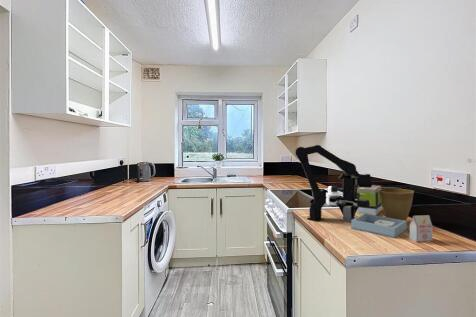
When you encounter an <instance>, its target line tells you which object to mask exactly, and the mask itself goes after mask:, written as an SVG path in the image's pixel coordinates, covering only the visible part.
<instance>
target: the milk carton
mask: <svg viewBox="0 0 476 317" xmlns="http://www.w3.org/2000/svg"><path fill="white" fill-rule="evenodd" d="M433 228H434V227H433V223H432V221H431V217H430V215H429V214H427V215H412V219H411V221H410V223H409V240H411V241H413V242H415V243H425V242H426V241H430V242H433ZM426 243H427V242H426Z"/></svg>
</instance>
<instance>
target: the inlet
mask: <svg viewBox="0 0 476 317" xmlns="http://www.w3.org/2000/svg"><path fill="white" fill-rule="evenodd" d="M374 224H377V225H382V226H388V227H394V226H396V222H390V221H385V220H378V221H376V222H374Z"/></svg>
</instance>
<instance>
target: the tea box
mask: <svg viewBox="0 0 476 317" xmlns="http://www.w3.org/2000/svg"><path fill="white" fill-rule="evenodd" d="M380 189H382V185H373V184H372V186H371V188H359V187H357V188H356V192H357V193H359V194H360V198H359V200H360V199H365V200H369V202H370V206H367V207H359V208H358V209H357V211H356V213H357V214H362V215H365V214H369V215H375V216H378V214H379V213H380V212H381V211H383V208H382V204H381V200H380V194H379V190H380Z"/></svg>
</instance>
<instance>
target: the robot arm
mask: <svg viewBox="0 0 476 317" xmlns="http://www.w3.org/2000/svg"><path fill="white" fill-rule="evenodd" d="M294 153H295V156H296V157H297V160H299V162H300V164H301V166H302V168H303V170H304V173H305V176H306V178H307V181H308V183H309V186H310V188H311V194H312V199H311V200H310V201H309V202H308V204H309V217H306V219H307V220H310V221H313V222H320V221H323V220H325V218H324V217H322V211H323V210H322V208H323V206H325V204H327V203H326V198H327V197H326V193H325V190H324V189H323V188H321V189H320V187H319V185H318V183H317V180H316V178H315V175H314V171H313V170H312V167H311V164H310V161H309V155H313V154H318V155H320V156H322V157H323V158H325V159H326V160H327V161H330V163H331V162H332V163H333V164H334V165H336V167H338V169H339V170H340V171H342V172H343V173H341V174H340V175H339V176H338V179H341V180H342V189H341V192H342V196H341V195H340V196H336V195H334V196H331V197H330V198H329V202H336V201H337V203H336V204H337V205H336V206H337V207H338V209H339V210H340V212H341V214H342V215H343V207H345V206H347V203H349V204H352V205H350V206H351V214H352V219H353V218H354V219H355V216H356V213H357V209H358V208H359V207H367V206H370V202H369V200H365V199H360V200H359V198H360V194H359V193H357V188H371V186H372V185H373V180H372V176H371V174H369V173H366V174H364V173H363V174H362V173H361V174H360V173H359V172H358V170H357V167H356V165H355V164H354V163H352V162H349V161H347V160H344V159H342V158H340V157H338V156H336V155H335V154H333V153H332V152H330V151H329V150H327V149H325V148H324V147H322V146H321V145H320V144H315V145H311V146H308V147H304V146H298V147H297V148H296V149H295V151H294ZM344 173H345V175H344ZM351 175H352V176H351ZM356 186H357V188H356Z"/></svg>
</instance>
